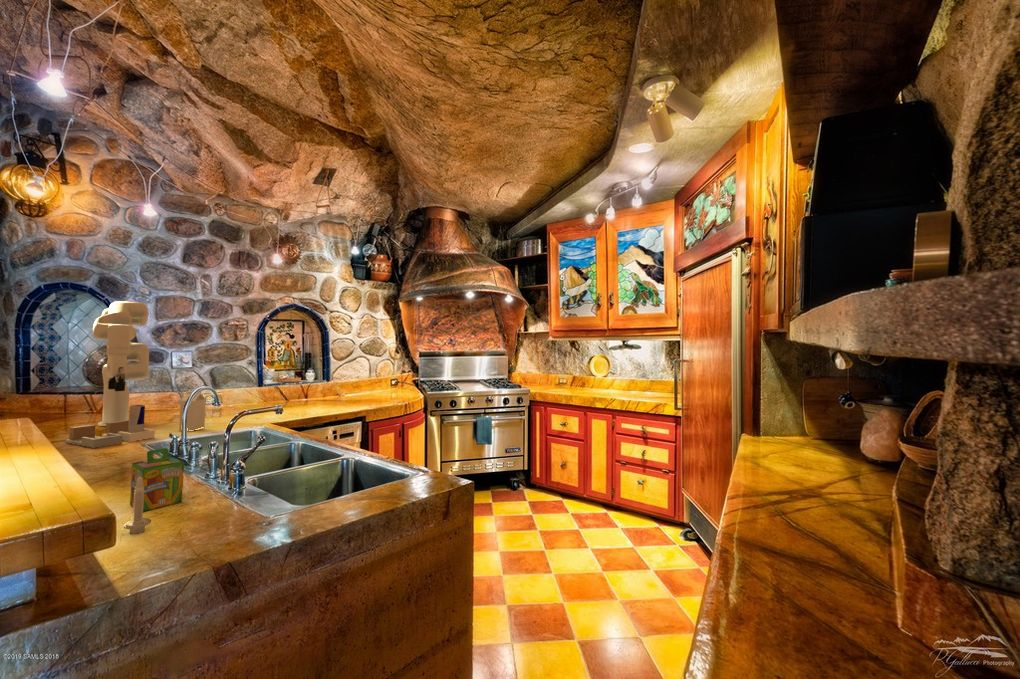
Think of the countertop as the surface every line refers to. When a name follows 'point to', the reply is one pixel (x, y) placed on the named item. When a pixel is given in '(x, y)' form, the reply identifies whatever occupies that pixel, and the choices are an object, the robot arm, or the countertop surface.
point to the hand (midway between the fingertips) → (116, 390)
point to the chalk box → (158, 480)
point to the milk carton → (194, 412)
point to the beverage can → (136, 418)
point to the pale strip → (122, 429)
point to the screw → (138, 510)
